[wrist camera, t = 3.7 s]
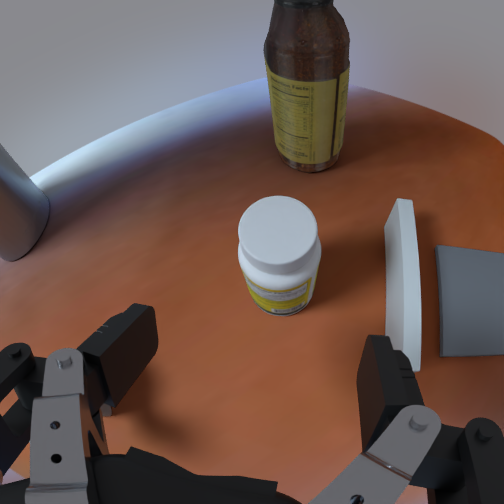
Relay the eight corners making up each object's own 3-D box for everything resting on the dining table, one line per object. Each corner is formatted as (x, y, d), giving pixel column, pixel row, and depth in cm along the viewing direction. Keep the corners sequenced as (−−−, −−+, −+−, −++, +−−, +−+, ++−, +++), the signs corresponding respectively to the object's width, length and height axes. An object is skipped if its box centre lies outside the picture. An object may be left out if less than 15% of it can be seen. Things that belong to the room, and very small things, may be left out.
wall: (382, 376, 19) (401, 370, 15) (384, 226, 24) (397, 198, 21) (398, 376, 19) (420, 370, 15) (397, 228, 24) (412, 200, 20)
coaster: (439, 356, 19) (443, 355, 18) (434, 248, 23) (437, 244, 22) (521, 353, 17) (525, 352, 17) (510, 257, 21) (514, 254, 21)
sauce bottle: (312, 123, 30) (312, -61, 13) (353, 159, 28) (380, -49, 10) (260, 148, 29) (231, -55, 12) (299, 189, 27) (294, -52, 9)
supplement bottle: (275, 246, 24) (268, 175, 17) (326, 278, 23) (343, 215, 15) (236, 293, 23) (211, 238, 16) (289, 330, 21) (290, 290, 14)
